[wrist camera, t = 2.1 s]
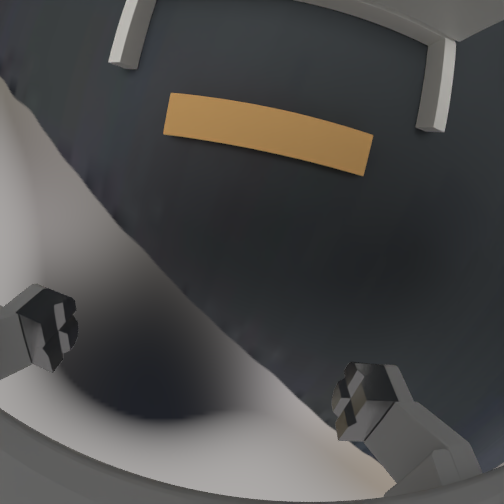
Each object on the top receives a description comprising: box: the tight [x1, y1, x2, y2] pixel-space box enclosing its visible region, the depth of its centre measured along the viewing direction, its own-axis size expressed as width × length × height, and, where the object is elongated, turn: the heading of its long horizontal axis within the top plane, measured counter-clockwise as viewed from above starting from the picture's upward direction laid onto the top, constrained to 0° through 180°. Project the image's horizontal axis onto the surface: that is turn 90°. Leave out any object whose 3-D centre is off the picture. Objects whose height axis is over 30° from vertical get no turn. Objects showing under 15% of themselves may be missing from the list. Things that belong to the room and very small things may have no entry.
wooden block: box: [163, 93, 373, 176], centre depth 20 cm, size 14×3×2 cm, turn 78°
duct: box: [109, 0, 456, 132], centre depth 16 cm, size 24×8×3 cm, turn 79°
